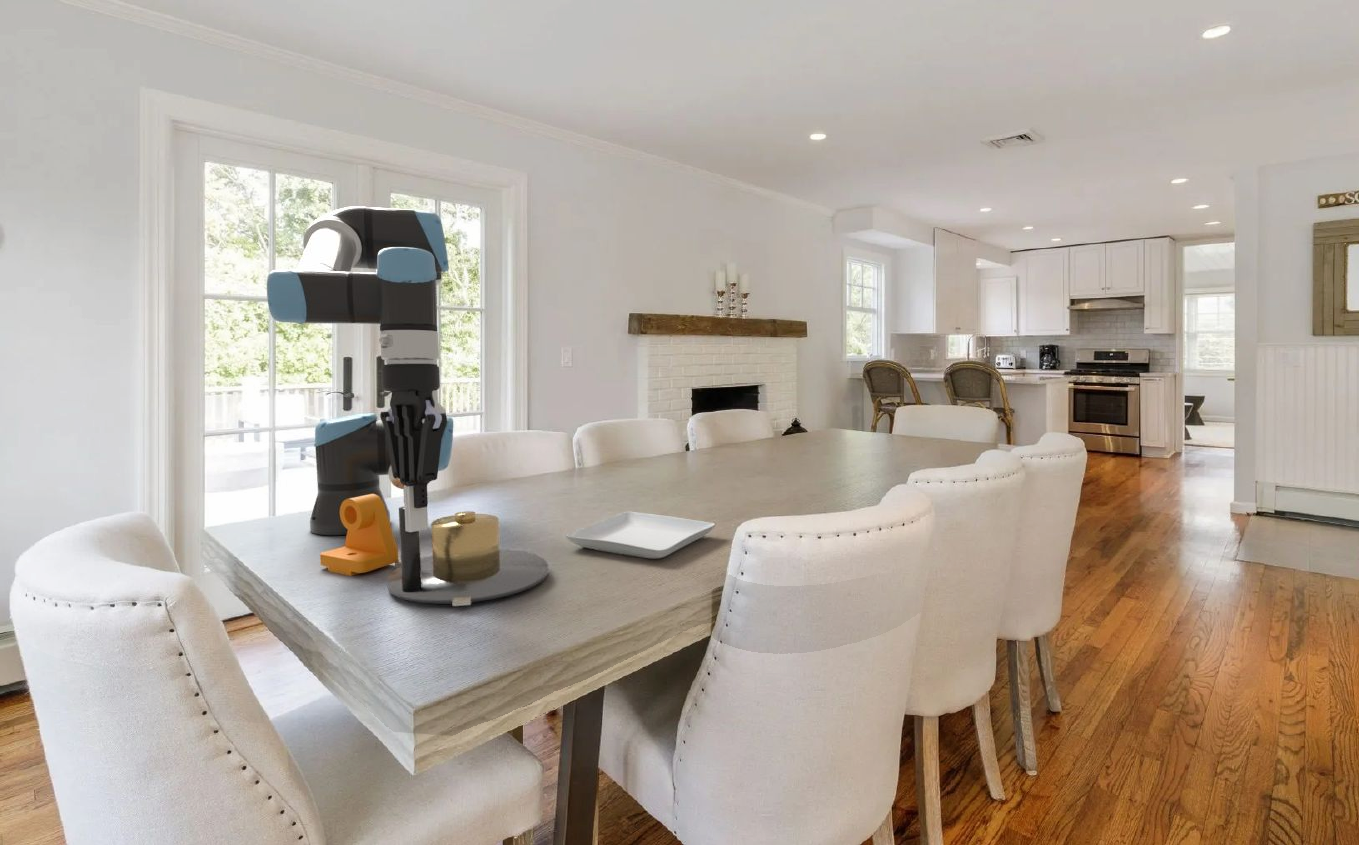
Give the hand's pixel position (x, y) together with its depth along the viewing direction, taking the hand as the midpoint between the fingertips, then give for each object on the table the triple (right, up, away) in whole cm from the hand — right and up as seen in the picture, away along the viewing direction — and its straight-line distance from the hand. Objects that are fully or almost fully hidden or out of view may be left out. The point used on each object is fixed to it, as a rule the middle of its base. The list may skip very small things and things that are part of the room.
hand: (416, 529), depth 98 cm
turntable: (+4, -10, +11) cm, 15 cm away
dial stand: (-8, -9, +20) cm, 23 cm away
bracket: (-17, -10, +19) cm, 27 cm away
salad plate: (+30, -8, +33) cm, 45 cm away
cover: (+4, -8, +10) cm, 14 cm away
